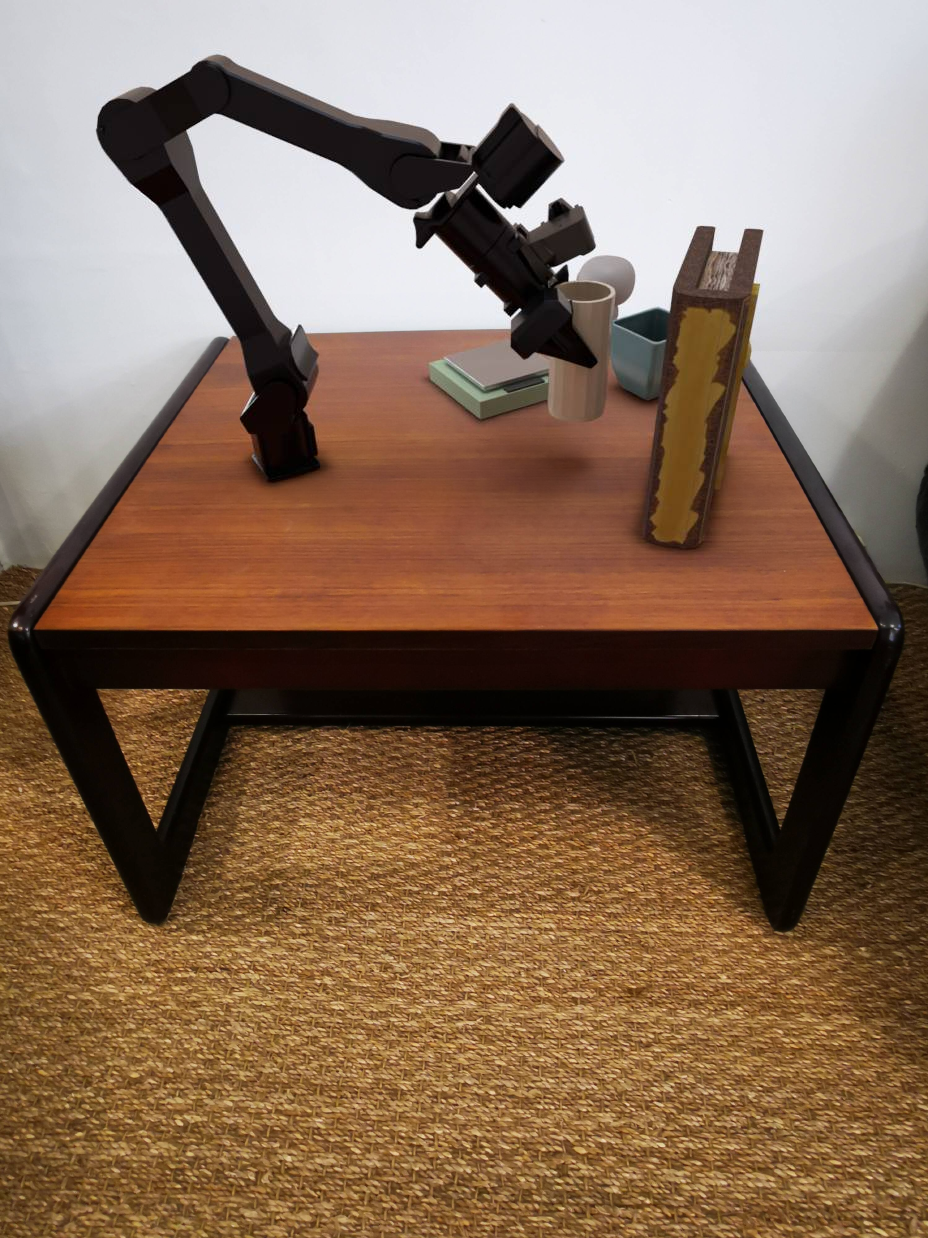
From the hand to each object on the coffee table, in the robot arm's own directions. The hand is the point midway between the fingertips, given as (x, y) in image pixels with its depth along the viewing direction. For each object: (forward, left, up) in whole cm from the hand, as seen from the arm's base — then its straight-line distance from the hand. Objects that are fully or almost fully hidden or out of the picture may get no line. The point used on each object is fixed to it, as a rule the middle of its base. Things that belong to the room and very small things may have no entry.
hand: (592, 351), depth 88 cm
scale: (+2, +23, -13) cm, 27 cm away
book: (+6, -11, -14) cm, 18 cm away
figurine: (+22, +27, -14) cm, 37 cm away
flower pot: (+18, +11, -14) cm, 25 cm away
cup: (-1, +1, -7) cm, 7 cm away
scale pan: (+2, +23, -10) cm, 25 cm away
